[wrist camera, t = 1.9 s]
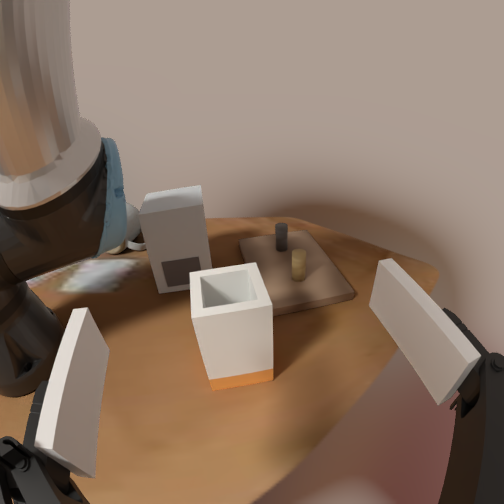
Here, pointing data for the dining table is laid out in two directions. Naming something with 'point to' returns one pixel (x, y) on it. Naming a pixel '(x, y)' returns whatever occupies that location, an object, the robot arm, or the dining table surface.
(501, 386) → the robot arm
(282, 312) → the pin board
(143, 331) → the dining table surface
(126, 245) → the ceramic mug
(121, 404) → the dining table surface
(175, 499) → the dining table surface
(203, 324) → the sleeve
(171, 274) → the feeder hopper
